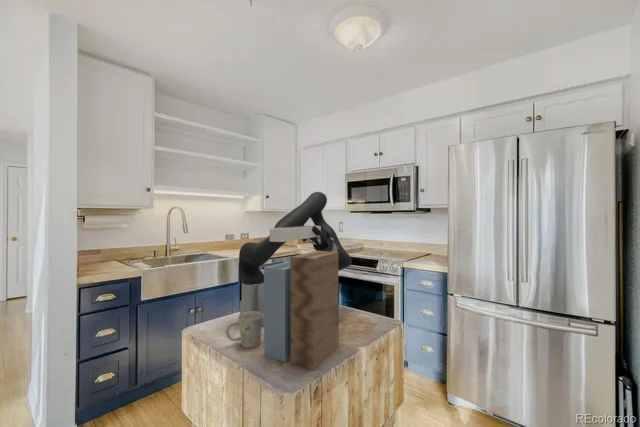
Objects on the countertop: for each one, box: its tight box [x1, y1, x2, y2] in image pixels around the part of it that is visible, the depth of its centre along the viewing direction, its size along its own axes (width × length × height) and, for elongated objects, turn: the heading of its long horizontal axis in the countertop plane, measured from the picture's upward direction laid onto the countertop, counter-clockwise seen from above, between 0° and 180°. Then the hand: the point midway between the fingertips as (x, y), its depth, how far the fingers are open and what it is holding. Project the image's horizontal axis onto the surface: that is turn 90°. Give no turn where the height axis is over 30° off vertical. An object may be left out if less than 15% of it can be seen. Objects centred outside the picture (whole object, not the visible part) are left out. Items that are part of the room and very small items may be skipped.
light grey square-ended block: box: [269, 225, 321, 243], centre depth 103 cm, size 4×26×4 cm, turn 152°
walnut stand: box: [289, 250, 340, 371], centre depth 93 cm, size 8×17×32 cm, turn 152°
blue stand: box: [263, 260, 290, 363], centre depth 98 cm, size 8×17×28 cm, turn 152°
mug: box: [224, 311, 263, 349], centre depth 100 cm, size 8×13×10 cm, turn 107°
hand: (307, 228), depth 109 cm, fingers closed on light grey square-ended block, 4 cm apart
